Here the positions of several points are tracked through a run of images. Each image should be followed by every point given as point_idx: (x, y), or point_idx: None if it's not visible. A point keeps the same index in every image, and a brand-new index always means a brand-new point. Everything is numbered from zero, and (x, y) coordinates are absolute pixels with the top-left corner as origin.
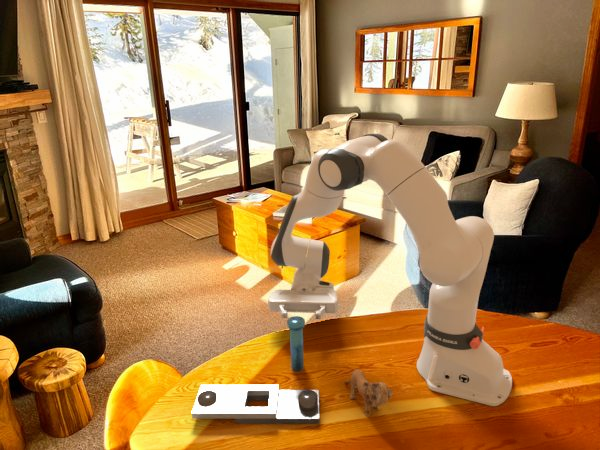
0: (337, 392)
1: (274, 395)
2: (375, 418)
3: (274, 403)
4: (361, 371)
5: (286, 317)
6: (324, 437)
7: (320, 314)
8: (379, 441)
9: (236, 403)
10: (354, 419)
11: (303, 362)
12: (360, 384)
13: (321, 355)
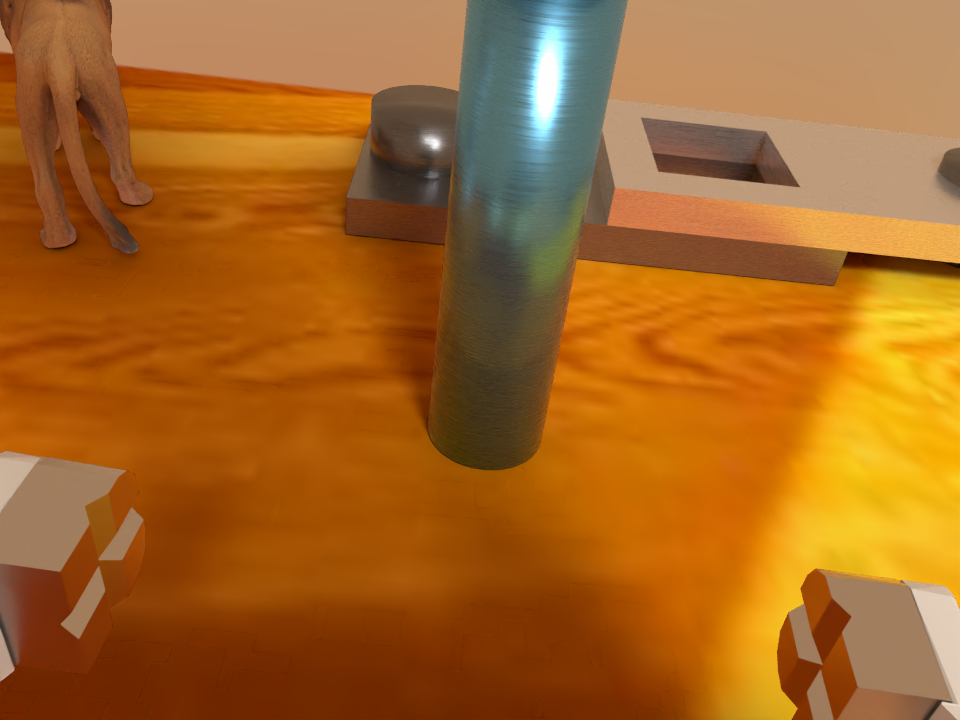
0: (217, 233)
1: (623, 148)
2: (81, 121)
3: (612, 124)
4: (30, 30)
5: (790, 622)
6: (362, 106)
7: (11, 453)
8: (131, 72)
9: (816, 147)
10: (192, 131)
11: (432, 375)
12: (95, 17)
13: (211, 543)
